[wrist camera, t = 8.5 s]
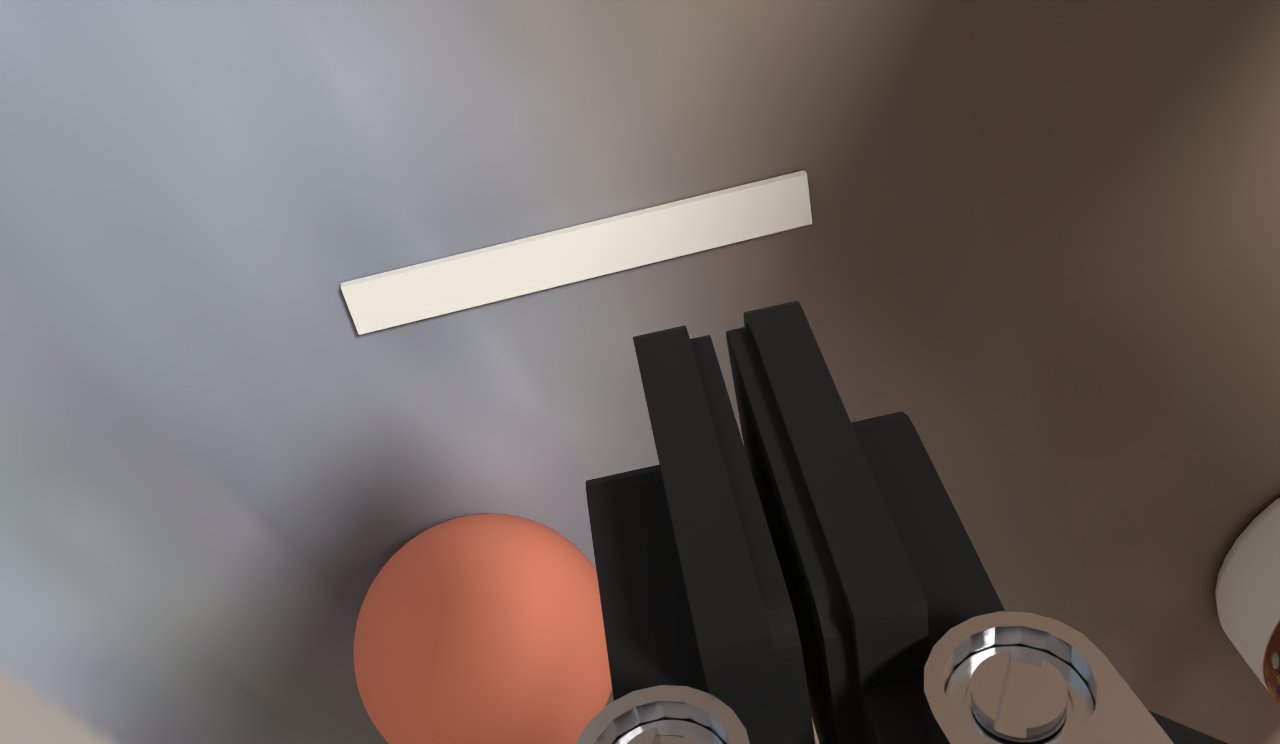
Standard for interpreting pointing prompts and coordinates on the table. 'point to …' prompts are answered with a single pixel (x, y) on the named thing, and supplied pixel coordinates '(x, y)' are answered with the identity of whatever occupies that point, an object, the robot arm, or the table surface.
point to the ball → (483, 637)
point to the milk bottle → (1254, 597)
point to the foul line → (578, 252)
